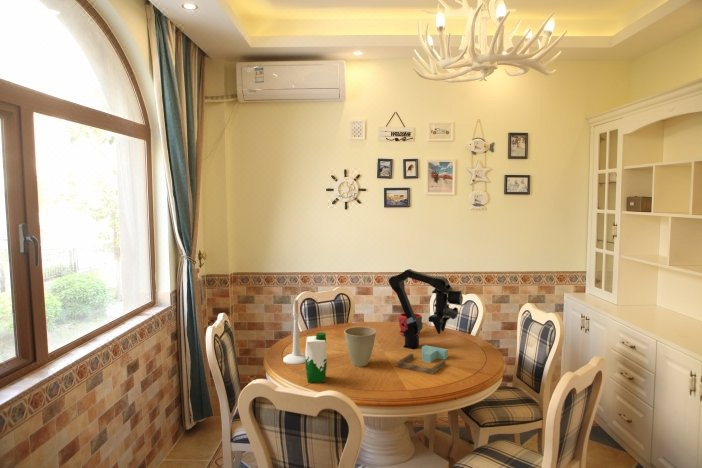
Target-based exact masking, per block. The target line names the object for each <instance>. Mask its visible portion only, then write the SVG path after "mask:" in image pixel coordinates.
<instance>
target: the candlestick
mask: <svg viewBox="0 0 702 468" xmlns="http://www.w3.org/2000/svg"><path fill="white" fill-rule="evenodd" d="M292 315H293V319H294V320H293V337H292V352H291V353H289V354H287V355H285V356H284V357H283V358H282V362H283V363H284V364H287V365H297V366H298V365H304V364H305V353H303V352H301V349H300V348H301V347H300V331H299V329H300V328H299V317H300V316H299V315H300V312H299V300H298V299H293V312H292Z"/></svg>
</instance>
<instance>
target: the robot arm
mask: <svg viewBox="0 0 702 468" xmlns="http://www.w3.org/2000/svg"><path fill="white" fill-rule="evenodd" d="M408 279H413V280H414V281H418V282H422V283H424V284H428V285H429V286H431V287H432V288H434V289H433V291H431V293H432V294H435V303H434V304H433V305H434V307H435V312H433V314H431V315H430V316H429V317H428V322H430V323H432V324H433V325H434V328H435V330H436V332H437V334H439V335H440V334H441V332H445V329H446V325H447V322H448V321H449V320H450V319H451V320H455V319H456V318H457V317H458V316H459V314H460V312H459V308H458V307H457V306H455V307H450V304H451V305H453V304H454V305H462V303H463V301H464V300H463V299H464V297H463V294H462V290H454V289H453V287H452V286H451V285H450V282H449V280H448V278H447V277H445V276H436V275H429V274H426V273H422V272H419V271H416V270H413V269H410V268H409V269H406V270H404V271H403V272H401V273H399V274H396V275H392V276H390V278H389V279H388V285H389V286H390V287H391V289H392V290H393V292H394V293H395V294H396V295H397V298H398V300H399V303H400V306H401V308H402V310H403V313H405V315H406V318H407V328H408V329H407V330H406V331H405V332H404V336H403V337H404V345H403V348H406V349H407V348H408V349H413V350H415V349H417V348H418V347H420V338H419V335H420V334H419V332H420V333H421V331H422V330H423V324H424V323H423V322H421V319H420V317H418V318H417V317H416V316H415V314H414V313H415V312H414V310H413V307H412V304H411V302H410V299H409V298H408V295H407V292H406V289H405V287H406V286H405V281H406V280H408ZM417 334H419V335H417Z"/></svg>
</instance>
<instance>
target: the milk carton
mask: <svg viewBox="0 0 702 468" xmlns="http://www.w3.org/2000/svg"><path fill="white" fill-rule="evenodd" d="M326 335H327V334H326V333H325V332H317V333H316V334H315V335H312V336H310V335H309V336H307V337H306V341H305V342H306V344H305V350H304V352H305V353H304V354H305V363H304V364H305V372H306V379H307V383H309V384H311V383H312V384H313V383H325V382H326V376H327V375H326V373H327V365H328V364H327V362H328V361H327V355H328V354H327V336H326Z"/></svg>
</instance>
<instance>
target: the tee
mask: <svg viewBox="0 0 702 468" xmlns="http://www.w3.org/2000/svg"><path fill="white" fill-rule="evenodd" d="M421 356H422V358H421V360H422V362H424V363H428V364H429V363H432V362H434V361H435V360H436V359H440V360H445V361H446V359H447V358H448V349H447V348H442V347H436V346H431V345H427V344H425V345H423V346H421Z"/></svg>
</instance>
